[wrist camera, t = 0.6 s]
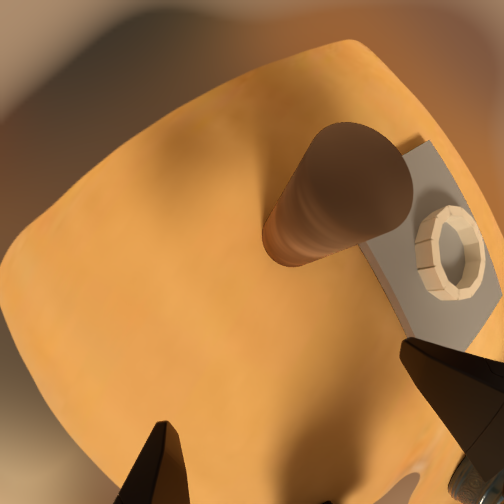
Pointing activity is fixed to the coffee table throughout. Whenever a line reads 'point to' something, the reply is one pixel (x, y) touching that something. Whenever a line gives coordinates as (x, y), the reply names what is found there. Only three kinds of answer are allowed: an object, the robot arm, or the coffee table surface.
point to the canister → (475, 486)
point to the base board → (403, 268)
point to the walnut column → (339, 196)
